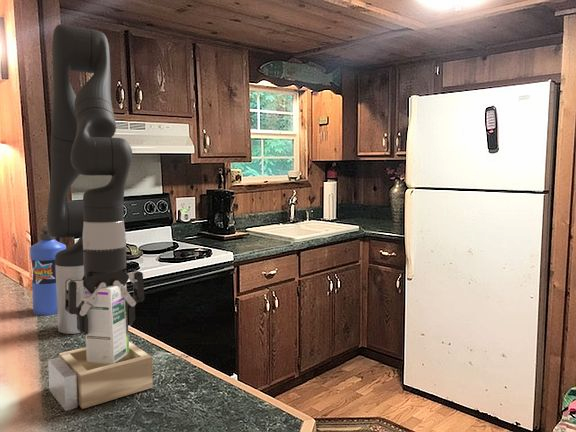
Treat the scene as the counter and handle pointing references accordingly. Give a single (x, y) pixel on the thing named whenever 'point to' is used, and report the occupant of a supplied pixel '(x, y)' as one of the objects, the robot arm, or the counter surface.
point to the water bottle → (45, 273)
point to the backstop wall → (63, 383)
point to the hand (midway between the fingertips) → (107, 329)
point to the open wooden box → (109, 376)
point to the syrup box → (107, 326)
